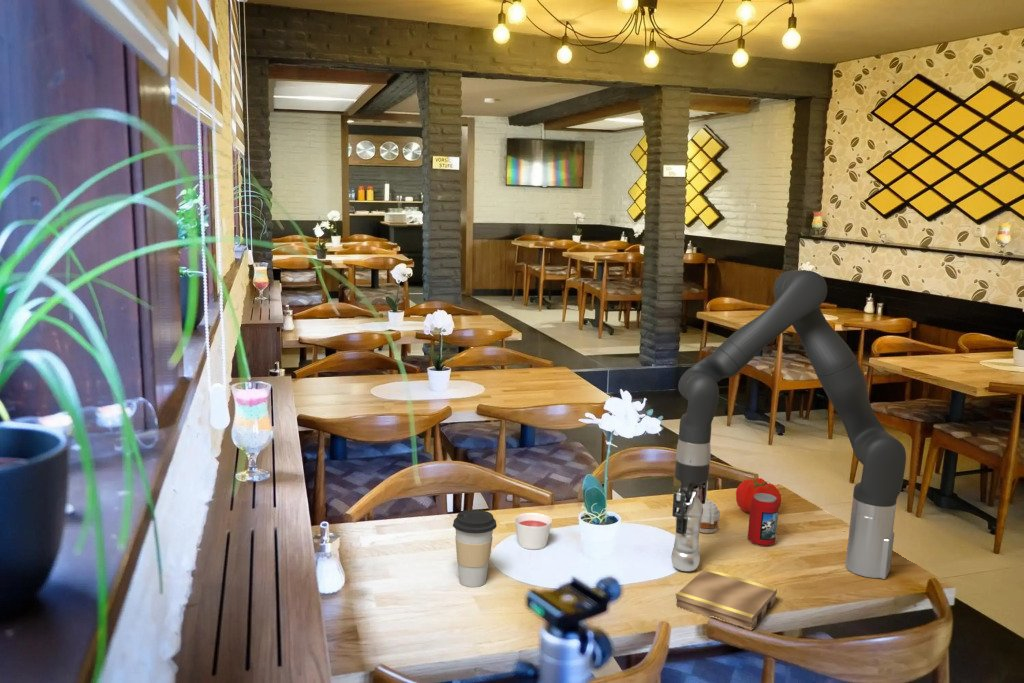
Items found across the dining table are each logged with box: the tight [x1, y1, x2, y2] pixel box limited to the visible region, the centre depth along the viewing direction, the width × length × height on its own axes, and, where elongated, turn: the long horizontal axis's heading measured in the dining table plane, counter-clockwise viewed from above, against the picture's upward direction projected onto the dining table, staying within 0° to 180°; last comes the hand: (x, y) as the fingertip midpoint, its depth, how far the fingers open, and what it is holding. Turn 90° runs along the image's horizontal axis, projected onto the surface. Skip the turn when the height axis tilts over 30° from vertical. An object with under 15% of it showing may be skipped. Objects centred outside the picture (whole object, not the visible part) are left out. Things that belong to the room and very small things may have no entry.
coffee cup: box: [452, 509, 498, 588], centre depth 179 cm, size 9×9×15 cm
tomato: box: [735, 477, 782, 514], centre depth 228 cm, size 13×12×8 cm
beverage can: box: [747, 493, 780, 547], centre depth 206 cm, size 7×7×12 cm
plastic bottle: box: [670, 486, 703, 572], centre depth 189 cm, size 6×7×20 cm
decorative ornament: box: [699, 480, 721, 534], centre depth 214 cm, size 8×8×15 cm
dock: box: [675, 567, 778, 629], centre depth 173 cm, size 16×16×3 cm
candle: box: [514, 512, 553, 550], centre depth 201 cm, size 9×9×6 cm
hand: (687, 528), depth 189 cm, fingers open, 7 cm apart
